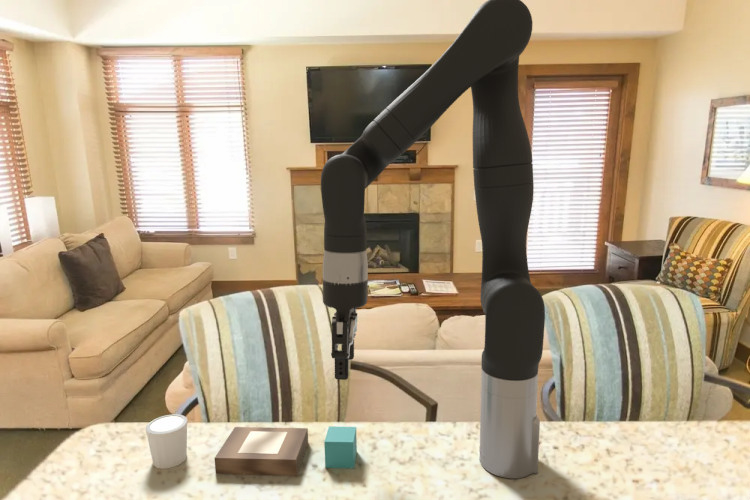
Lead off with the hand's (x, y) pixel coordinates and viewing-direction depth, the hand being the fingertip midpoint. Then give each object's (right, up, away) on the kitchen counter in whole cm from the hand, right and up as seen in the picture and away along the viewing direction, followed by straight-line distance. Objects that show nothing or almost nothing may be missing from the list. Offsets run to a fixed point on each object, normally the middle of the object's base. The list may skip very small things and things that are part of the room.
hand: (344, 368), depth 83 cm
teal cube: (-1, -17, +3) cm, 17 cm away
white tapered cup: (-32, -18, +4) cm, 36 cm away
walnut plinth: (-15, -17, +4) cm, 23 cm away
